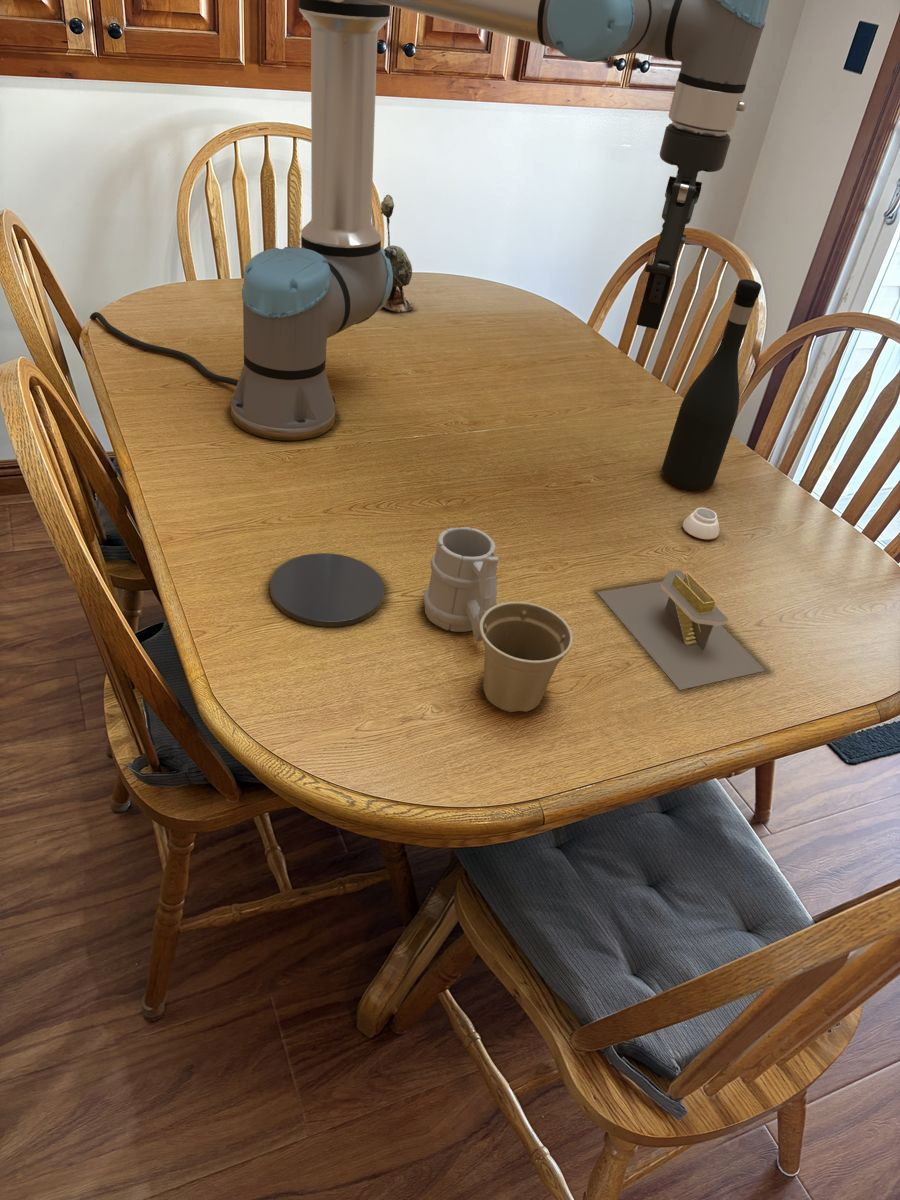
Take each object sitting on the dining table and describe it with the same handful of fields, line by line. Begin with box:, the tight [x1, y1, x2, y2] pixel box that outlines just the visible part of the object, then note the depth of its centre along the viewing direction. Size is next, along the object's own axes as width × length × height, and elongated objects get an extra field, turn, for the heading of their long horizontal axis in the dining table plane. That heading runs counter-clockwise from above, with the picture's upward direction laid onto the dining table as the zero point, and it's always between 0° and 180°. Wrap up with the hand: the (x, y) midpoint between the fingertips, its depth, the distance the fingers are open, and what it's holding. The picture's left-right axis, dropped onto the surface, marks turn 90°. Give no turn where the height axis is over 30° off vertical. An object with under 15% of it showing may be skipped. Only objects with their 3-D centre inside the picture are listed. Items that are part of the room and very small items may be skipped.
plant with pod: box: [380, 194, 414, 313], centre depth 176 cm, size 8×11×20 cm
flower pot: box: [479, 600, 574, 713], centre depth 96 cm, size 9×9×9 cm
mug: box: [423, 526, 499, 642], centre depth 103 cm, size 8×12×12 cm, turn 23°
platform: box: [596, 569, 766, 691], centre depth 109 cm, size 12×18×7 cm, turn 23°
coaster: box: [269, 552, 385, 628], centre depth 108 cm, size 13×13×1 cm
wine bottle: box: [661, 278, 762, 492], centre depth 132 cm, size 8×8×30 cm
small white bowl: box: [681, 507, 721, 540], centre depth 129 cm, size 5×3×5 cm
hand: (651, 309), depth 120 cm, fingers open, 13 cm apart
